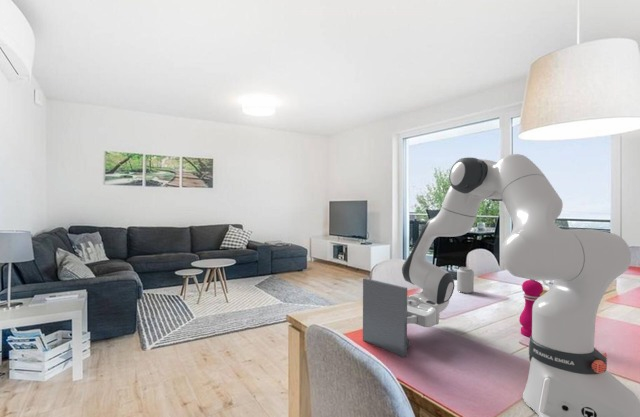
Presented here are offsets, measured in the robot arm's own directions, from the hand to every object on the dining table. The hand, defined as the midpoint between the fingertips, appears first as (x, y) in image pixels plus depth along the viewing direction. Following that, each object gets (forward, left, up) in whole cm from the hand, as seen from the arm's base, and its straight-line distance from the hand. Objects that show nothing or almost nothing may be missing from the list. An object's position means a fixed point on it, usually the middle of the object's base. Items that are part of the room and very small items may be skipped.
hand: (390, 317), depth 105 cm
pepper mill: (-26, -43, -9) cm, 51 cm away
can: (+14, -78, -9) cm, 79 cm away
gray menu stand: (0, -1, -9) cm, 9 cm away
